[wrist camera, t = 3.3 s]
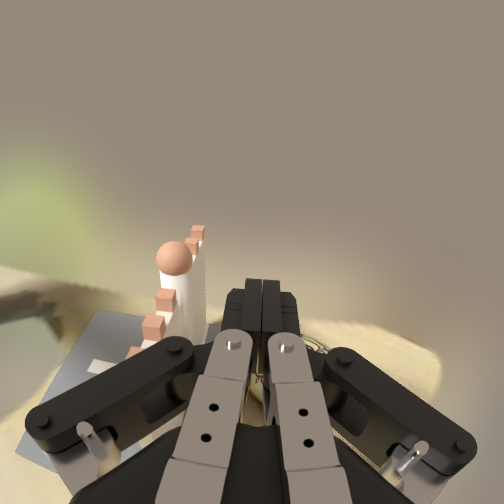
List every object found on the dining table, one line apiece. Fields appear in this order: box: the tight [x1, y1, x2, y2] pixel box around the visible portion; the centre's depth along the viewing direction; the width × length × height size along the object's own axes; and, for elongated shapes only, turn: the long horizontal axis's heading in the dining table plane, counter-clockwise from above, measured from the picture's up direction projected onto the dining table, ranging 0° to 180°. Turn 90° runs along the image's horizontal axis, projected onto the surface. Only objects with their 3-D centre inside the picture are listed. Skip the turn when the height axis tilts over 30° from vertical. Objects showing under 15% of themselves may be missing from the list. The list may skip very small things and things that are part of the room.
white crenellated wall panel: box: [125, 288, 185, 449], centre depth 21 cm, size 10×1×13 cm, turn 178°
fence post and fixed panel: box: [156, 225, 206, 346], centre depth 30 cm, size 3×11×16 cm, turn 178°
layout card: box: [15, 310, 221, 473], centre depth 28 cm, size 20×24×1 cm
